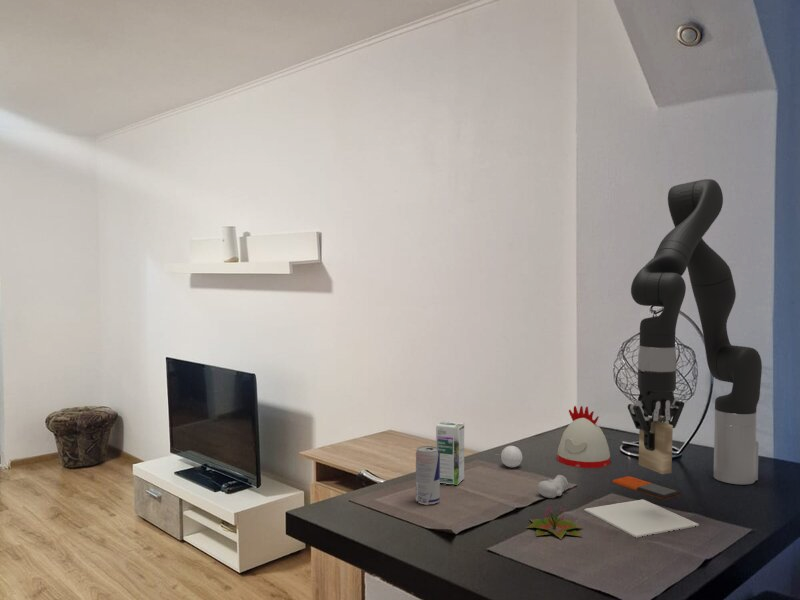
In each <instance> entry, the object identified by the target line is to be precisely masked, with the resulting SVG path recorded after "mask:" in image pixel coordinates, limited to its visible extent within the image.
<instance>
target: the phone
mask: <svg viewBox="0 0 800 600" xmlns="http://www.w3.org/2000/svg"><path fill="white" fill-rule="evenodd" d="M611 483H612V484H615V485H618V486H621V487H624V488H626V489H630V490H633V491H637V492H638V493H639V492H640V493H643V494H646V495H649V496H652V497H655V498H658V499H661V500H669V499H672V498H675V497H679V496H681V495H682V492H681V491H679V490H676V489H673V488H669V487H667V486H663V485H660V484H656V483H654V482H649V481H648V480H647V481H646V480H642V479H639V478H637V477H633V476H630V475H628V476H627V475H626V476H624V477H619V478H615V479H613V480H612V482H611Z"/></svg>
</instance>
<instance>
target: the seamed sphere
mask: <svg viewBox="0 0 800 600" xmlns="http://www.w3.org/2000/svg"><path fill="white" fill-rule="evenodd" d="M496 455H498V456H500V457H501V459H500V460H501V461H502V463H503V464H504V465H505V466H506V467H508V468H512V469H513V468H516V467H518V466H519V465H520V464H521V463H522V461H523V453H522V451H521V449H519V447H517V446H514V445H507V446H506V447H504V448H503V449H502V451H501V454H499V453H498V454H497V453H496Z"/></svg>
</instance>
